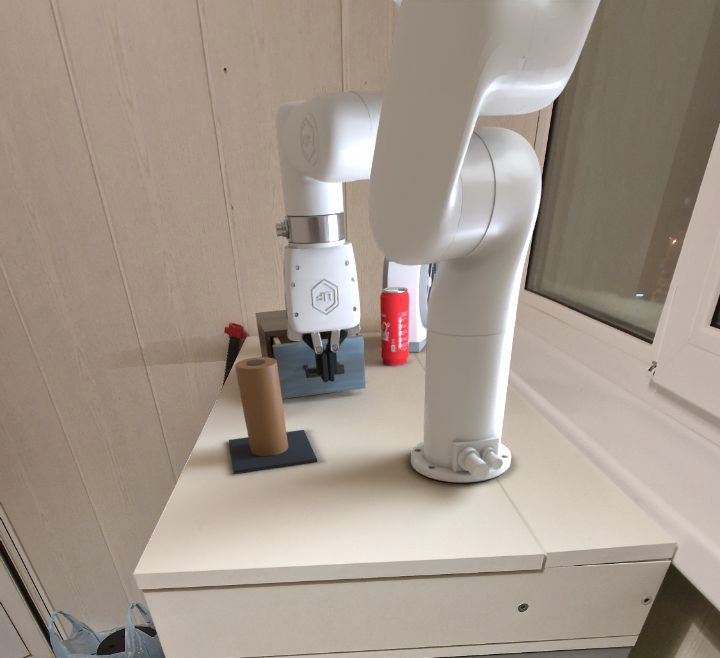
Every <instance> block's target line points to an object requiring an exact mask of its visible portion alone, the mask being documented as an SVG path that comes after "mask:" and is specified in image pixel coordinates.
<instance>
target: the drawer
mask: <svg viewBox="0 0 720 658" xmlns="http://www.w3.org/2000/svg"><path fill="white" fill-rule="evenodd" d="M319 333H320V338H321V343H322V346H323V348H324V350H325V348H326V345H327V337H328V331H323V332H319ZM364 340H365V338H364V336H363V334H358V336H356V335H355V334H354V335H352V336H349V337H346V338H345V340H344V341H343V342H342V344H341V345H340V346H339V349H338V351H337V352H336V355H337V370H338V372H337V373H336V374H334V379H335V381H332V382H331V381H328V382H324V381H323V380H322V378H321V375H319V376H318V375H317V371H316V360H315V351H314V350H313V349H311V348H310V347H309V346H308V345H307V344H306V343H305V342H299V341H293V340H290V339H289V338H288V336H287V335H280V336H271V337H270V341H271V348H272V356H273V359H275V360H276V361H277V366H278V374H279V381H280V389H281V396H282V400H284V399H290V398H291V399H292V398H298V397H299V398H300V397H306V396H314V395H315V396H316V395H323V394H331V393H338V392H347V391H354V390H361V389H366V367H365V366H366V365H365V345H364V344H365V342H364Z"/></svg>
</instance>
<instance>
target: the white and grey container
mask: <svg viewBox="0 0 720 658" xmlns="http://www.w3.org/2000/svg"><path fill="white" fill-rule="evenodd" d="M383 258H384V260H383V267H382V282H381V283H382V286H381V288H382V289H385V288H392V287H403V288H407V289H408V293H409V353H420V352H421V351H422V350H423V349H424V348H425V347H426V332H427V309H428V301H429V295H430V290H431V287H432V283H433V280H434V277H435V274H436V271H437V269H438V266H439V263H440V262H435V263H430V264H423V265H413V266H408V265H401V264H397V263H395V262H393V261H391V260H390V259H388V258H387V257H386V256H385V255H384V257H383ZM382 289H381V290H382Z"/></svg>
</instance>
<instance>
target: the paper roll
mask: <svg viewBox="0 0 720 658" xmlns="http://www.w3.org/2000/svg"><path fill="white" fill-rule="evenodd" d="M234 366H235V367H234V368H235V372H236V377H237V378H236V379H237V383H238V388H239V394H240V400H241V404H242V410H243V415H244V422H245V427H246V432H247V433H246V434H247V437H248V438H249V444H250V449H251V452H252V453H253V454H255V455H258V456H274V455H278V454H281V453H283V452H285V451H286V450H287V449H288V440H287V433H286V432H287V426H286V419H285V418H286V417H285V411H284V404H283V399H282V396H281V389H280V381H279V374H278V366H277V361H276V360H275V359H273V358H268V357H262V356H259V357H257V356H255V357H249V358H244V359H241V360H239V361H237V362H236V363H235V365H234Z"/></svg>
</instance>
